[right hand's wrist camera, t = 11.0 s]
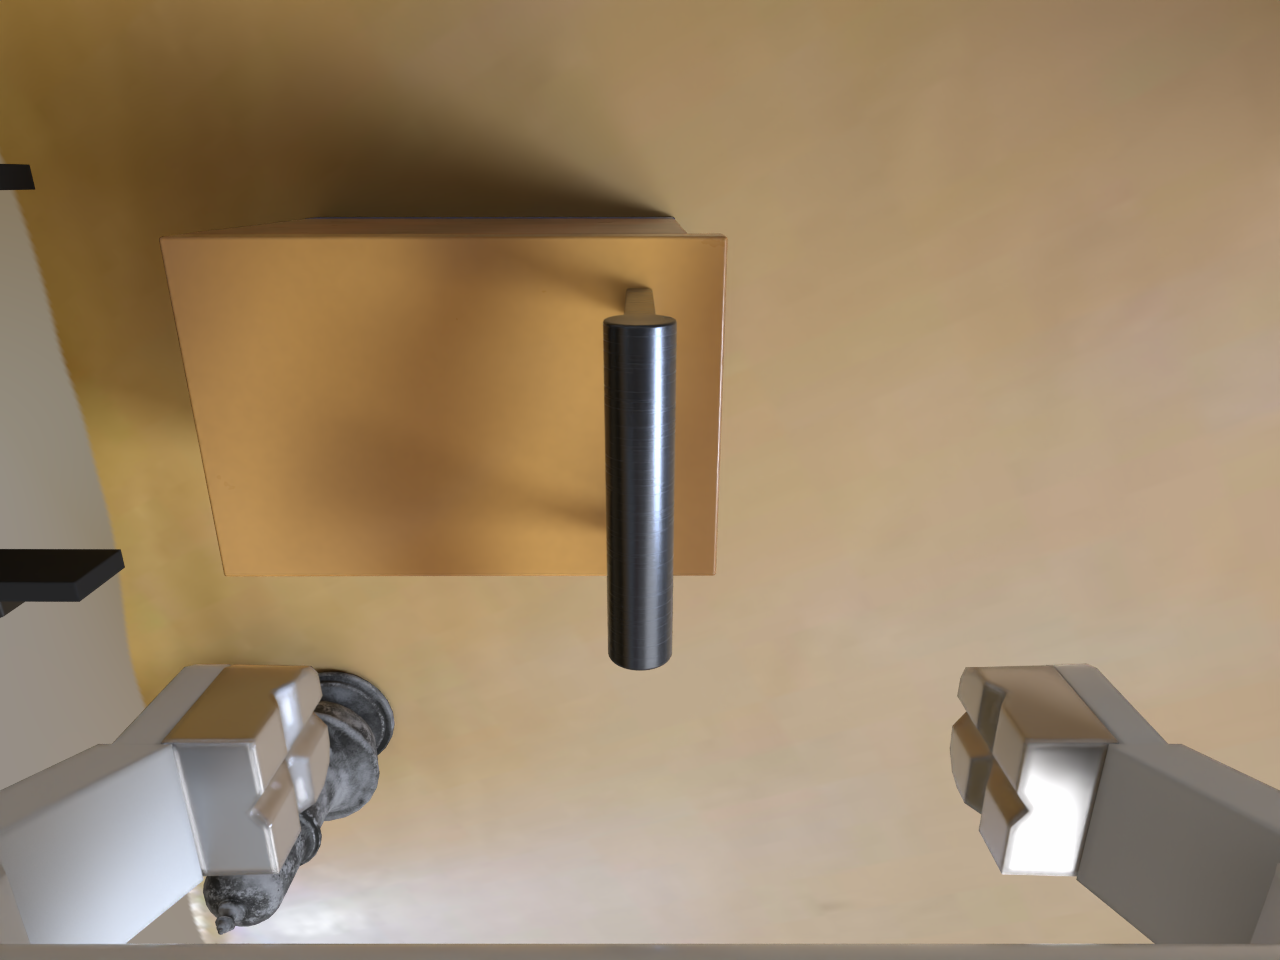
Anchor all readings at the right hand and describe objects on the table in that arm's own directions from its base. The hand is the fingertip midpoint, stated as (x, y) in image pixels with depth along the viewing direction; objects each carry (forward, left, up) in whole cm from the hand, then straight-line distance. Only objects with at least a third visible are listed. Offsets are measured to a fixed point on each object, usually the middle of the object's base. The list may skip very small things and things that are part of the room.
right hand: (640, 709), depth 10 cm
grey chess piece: (+3, +23, -25) cm, 34 cm away
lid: (+4, +3, -14) cm, 15 cm away
